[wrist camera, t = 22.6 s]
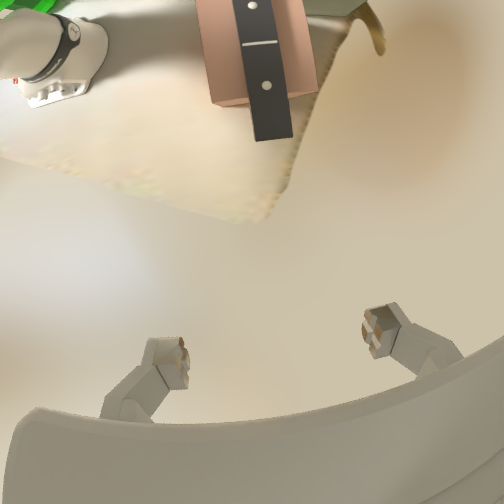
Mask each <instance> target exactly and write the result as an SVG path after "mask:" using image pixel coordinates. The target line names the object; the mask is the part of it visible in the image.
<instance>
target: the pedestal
mask: <svg viewBox="0 0 504 504" xmlns="http://www.w3.org/2000/svg"><path fill="white" fill-rule="evenodd" d="M366 1H367V0H302V2H303V6H304V11H305V15H329V16H342V17H345V16H347V15H348V14H349V13H351V12H352V11H353V10H355V9H356V8H357V7H359V6H360V5H361V4H363V3H364V2H366Z"/></svg>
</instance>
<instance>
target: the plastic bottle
mask: <svg viewBox="0 0 504 504" xmlns="http://www.w3.org/2000/svg"><path fill="white" fill-rule="evenodd" d="M55 2H56V0H0V11H1V10H3V9H10V10H14V11H15V10H17V9H20V8H29V9H33V10H36V11H39V12H43V13H46V12H47V11H48V10H49V9H50V8H51V7H52V6H53V5H54V4H55Z"/></svg>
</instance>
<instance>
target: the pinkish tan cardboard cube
mask: <svg viewBox="0 0 504 504" xmlns="http://www.w3.org/2000/svg"><path fill="white" fill-rule="evenodd" d="M195 2H196V9H197V15H198V22H199V28H200V34H201V41H202V47H203V53H204V59H205V65H206V71H207V77H208V83H209V89H210V95H211V101H212V103H213V104H215V105H218V106H221V107H225V106H231V105H238V104H244V103H249V99H248V93H247V87H246V81H245V74H244V68H243V62H242V56H241V50H240V45H239V39H238V33H237V27H236V22H235V16H234V10H233V5H232V0H195ZM271 3H272V8H273V13H274V18H275V23H276V28H277V33H278V39H279V44H280V50H281V56H282V62H283V68H284V74H285V81H286V88H287V94H288V99H289V98H294V97H297V96H301V95H305V94H309V93H313V92H317V91H319V90H318V83H317V76H316V69H315V63H314V57H313V51H312V46H311V40H310V35H309V30H308V25H307V20H306V15H305V11H304V6H303V2H302V0H271Z"/></svg>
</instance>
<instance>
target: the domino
mask: <svg viewBox="0 0 504 504" xmlns="http://www.w3.org/2000/svg"><path fill="white" fill-rule="evenodd" d="M232 5H233V10H234V16H235V22H236V27H237V33H238V39H239V45H240V50H241V56H242V62H243V68H244V74H245V81H246V87H247V93H248V99H249V106H250V112H251V119H252V125H253V132H254V139H255V141H256V142H258V141H266V140H274V139H282V138H292V137H293V132H292V124H291V116H290V109H289V101H288V94H287V88H286V81H285V74H284V68H283V62H282V56H281V50H280V44H279V39H278V33H277V28H276V23H275V18H274V13H273V8H272V3H271V0H232Z"/></svg>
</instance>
